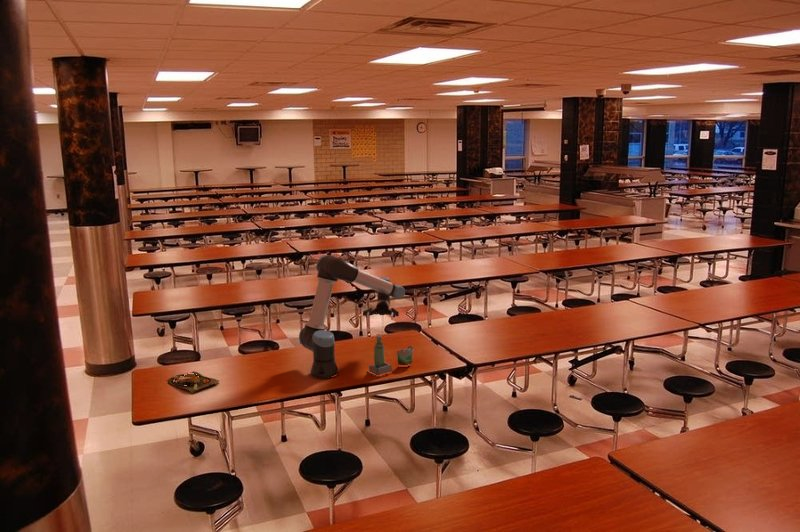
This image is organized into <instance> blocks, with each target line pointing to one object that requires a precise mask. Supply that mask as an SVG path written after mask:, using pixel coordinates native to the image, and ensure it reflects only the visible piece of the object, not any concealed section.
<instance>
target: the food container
mask: <svg viewBox="0 0 800 532" xmlns="http://www.w3.org/2000/svg"><path fill="white" fill-rule="evenodd" d="M413 347H414V346H411V345H408V347H406V348H402V349H401V350H396V355H397V356H396V357H397V366H398V365H408V364H411V363H412V364H413V353H414V352H415V350H414V348H413Z"/></svg>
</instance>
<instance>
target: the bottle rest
mask: <svg viewBox="0 0 800 532" xmlns="http://www.w3.org/2000/svg"><path fill="white" fill-rule="evenodd" d="M392 369H393V368H392V364H390V363H388V362H386V361H384V366H383V367H380V368H377V367H375V366H374V365H372V364H369V365H368V370H369V371H370V372H372V373H374V374H376V375H380V374H383V373H387V372H390V371H392ZM392 372H393V371H392Z"/></svg>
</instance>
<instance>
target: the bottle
mask: <svg viewBox="0 0 800 532" xmlns="http://www.w3.org/2000/svg"><path fill="white" fill-rule="evenodd" d="M382 335H383V334H382V333H376V342H375V345H374V347H373V354H374V355H373V358H374V359H373V364H374V365H373V366H375V367H377V368H380V367H383V366H384V362H385V346H384V342H382V337H383V336H382Z"/></svg>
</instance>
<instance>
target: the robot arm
mask: <svg viewBox="0 0 800 532" xmlns="http://www.w3.org/2000/svg"><path fill="white" fill-rule="evenodd" d="M315 267H316V271H317V276H316V278H317V280H318V283H317V287H316V290H315V295H314V299H313V303H312V307H311V311H310V315H309V318H308V321H307V322H306V323H304V327H303V328H302V329H301V330H300V332H299V334H298V340H299V343H300V344H301V345H302V346H303V347H304V348H305V349H307V350H309V351H310V352H312V355H313V356H312V357H313V362H312V365H311V369H310V376H311V377H312V376H313V377H312V378H314V377H316V378H315V379H318V378H328V377H331V376H334V375H336V374H337V373H338V374H339V367H338V365H337V362H336V357H335V355H336V353H335V352H336V351H335V349H336V348H335V342H336V341H335V335H334V333H332V332H331V331H329V330H326V327H325V325H324V324H325V321H326V317H327V312H328V308H329V305H330V300H331V296H332V293H333V288H334V285H335V284H336V283H337V282H338V280H341V281H344V282H348V283H350V284H351V283H355V284H358V285H361V286H363V287H366V288H368V289H371V290H373V291H376V292H377V294H376V295H377V296H376V298H377V302H376V305H375V308H373V307H369V308H368V309H366V310H363V311H362V316H363V317H365V318H366V321H368V320H369V318H370V316H373V315H375V316H376V315H379V316H388V315H389V316H391V320H390V321H393V320H394V318H395V317H399V316H400V315H399V314H400V312H399V311H398V310H396V309H394V307H391V308H390V305H391V297H392V298H394V299H397V300H401V299H403V298H404V297H405V294H406V289H405V287H403V286H402V285H398V284H395V283H393V282H391V280H390V279H391V278H389V277H387V276H385V277H378V276H376V275H373V274H372V273H368V272H367V271H364V270H361V269H359V267H358V266H356V265H354V264H352V263H350V262H349V261H346V260H345V259H343V258H340V257H337V256H334V255H332V254H331V255H329V254H324V255H323V256H320V257H319V258H318V260H317V261H316V264H315ZM328 379H329V378H328Z"/></svg>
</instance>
